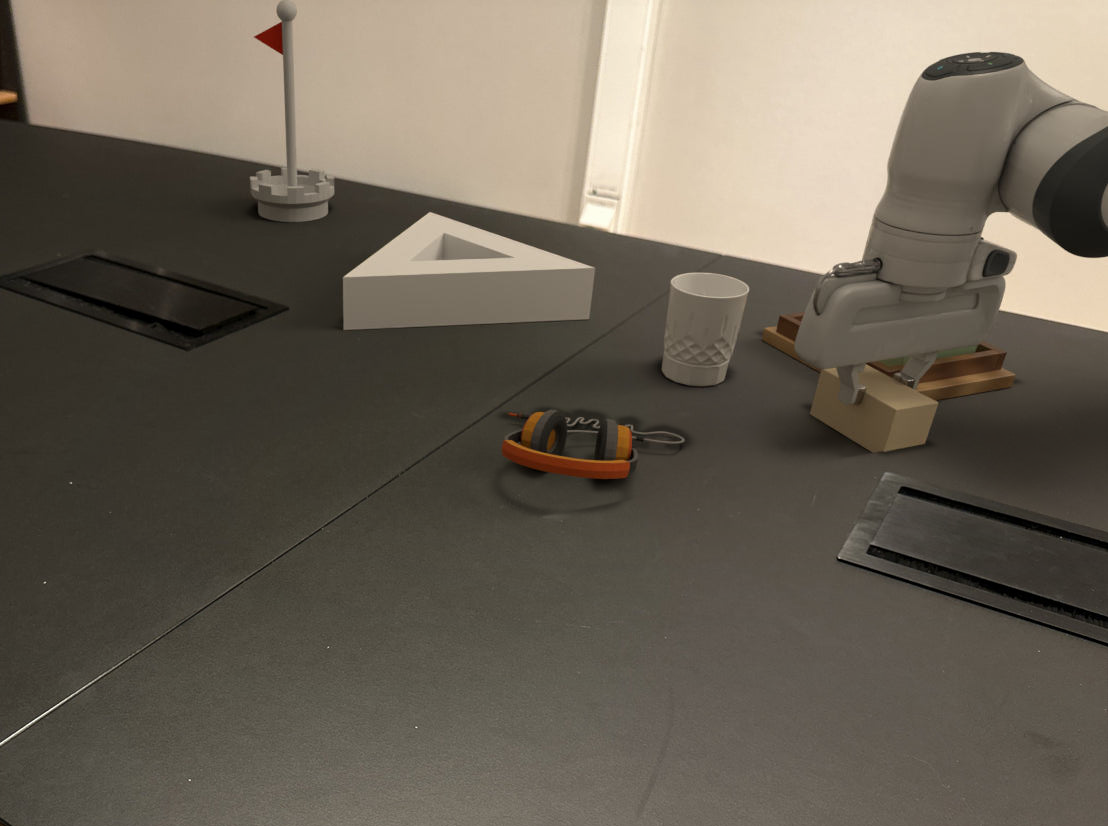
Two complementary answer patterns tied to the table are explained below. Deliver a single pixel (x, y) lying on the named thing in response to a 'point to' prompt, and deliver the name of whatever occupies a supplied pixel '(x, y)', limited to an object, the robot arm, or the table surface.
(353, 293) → the triangle block
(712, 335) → the white cup
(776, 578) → the table surface
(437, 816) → the table surface
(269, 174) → the flag stand
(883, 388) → the beige block
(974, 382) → the wooden tray
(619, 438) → the headphones
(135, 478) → the table surface
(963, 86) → the robot arm
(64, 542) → the table surface
